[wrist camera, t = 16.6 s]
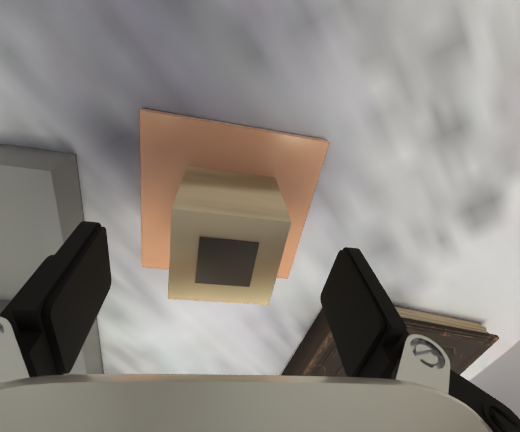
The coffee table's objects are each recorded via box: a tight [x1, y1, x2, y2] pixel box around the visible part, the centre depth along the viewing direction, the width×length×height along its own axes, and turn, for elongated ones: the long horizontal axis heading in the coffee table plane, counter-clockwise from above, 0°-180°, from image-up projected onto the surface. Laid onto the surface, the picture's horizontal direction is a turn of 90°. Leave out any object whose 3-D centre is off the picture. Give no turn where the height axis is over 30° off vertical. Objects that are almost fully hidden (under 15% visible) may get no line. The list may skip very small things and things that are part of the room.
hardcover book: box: [281, 306, 499, 377], centre depth 29 cm, size 16×23×2 cm
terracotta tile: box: [140, 108, 329, 279], centre depth 18 cm, size 10×10×1 cm
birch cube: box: [168, 165, 292, 305], centre depth 15 cm, size 5×5×5 cm
